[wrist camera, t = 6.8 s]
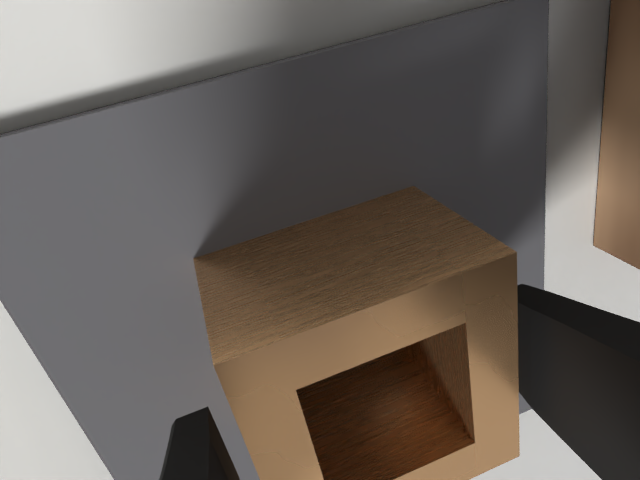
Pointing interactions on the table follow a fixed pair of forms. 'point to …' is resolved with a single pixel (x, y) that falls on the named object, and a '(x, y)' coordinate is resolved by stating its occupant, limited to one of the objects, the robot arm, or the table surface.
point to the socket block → (620, 139)
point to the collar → (369, 343)
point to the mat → (252, 201)
